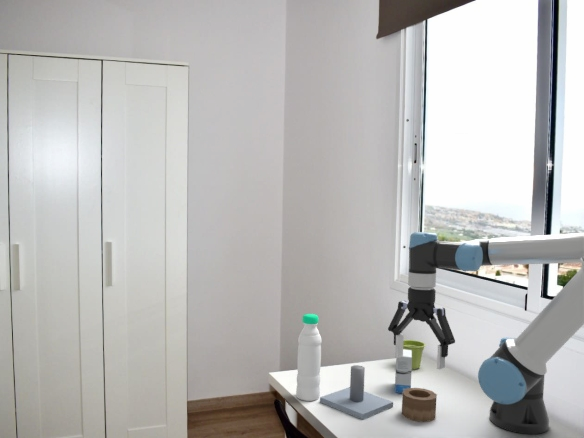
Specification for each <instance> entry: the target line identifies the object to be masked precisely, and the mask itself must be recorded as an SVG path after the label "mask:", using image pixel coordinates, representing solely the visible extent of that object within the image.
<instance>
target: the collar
mask: <svg viewBox="0 0 584 438" xmlns="http://www.w3.org/2000/svg"><path fill="white" fill-rule="evenodd" d="M401 397H402V399H401V400H402V401H401V415H402V416H403V417H405V419H407V420H411V421H415V422H421V423H423V422H432V421H434V420H435V419H436V417H437V416H436V415H437V413H436V412H437V394H436V393H435V392H434V391H432V390H429V389H426V388H421V387H411V388H408V389H405V390H403V393H402V396H401Z"/></svg>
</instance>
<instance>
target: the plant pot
mask: <svg viewBox="0 0 584 438" xmlns="http://www.w3.org/2000/svg"><path fill="white" fill-rule="evenodd" d="M425 347H426V343H424V342H423V341H419V340H413V339H403V349H405V350H412V370H418V369H420V368H421V362H422V357H423V351H424V349H425Z"/></svg>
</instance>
